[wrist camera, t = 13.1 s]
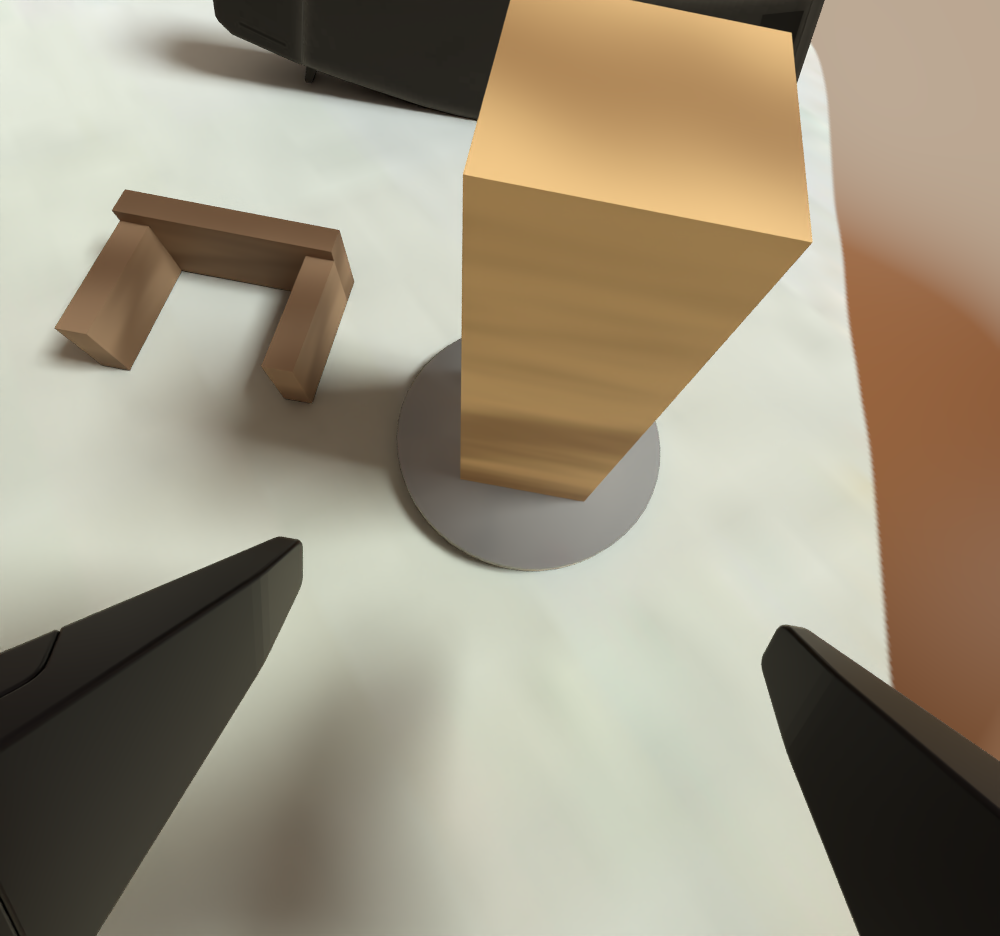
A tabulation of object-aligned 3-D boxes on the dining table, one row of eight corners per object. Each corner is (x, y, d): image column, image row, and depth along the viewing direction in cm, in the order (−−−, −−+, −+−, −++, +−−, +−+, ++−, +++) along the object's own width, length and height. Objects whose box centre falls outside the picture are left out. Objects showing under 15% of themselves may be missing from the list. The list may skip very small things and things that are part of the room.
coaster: (464, 620, 18) (464, 619, 17) (361, 383, 21) (357, 373, 20) (701, 503, 20) (710, 497, 19) (577, 306, 23) (581, 295, 22)
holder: (311, 403, 20) (287, 364, 17) (101, 365, 20) (43, 319, 17) (354, 281, 23) (339, 230, 20) (166, 246, 22) (125, 189, 20)
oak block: (583, 501, 19) (813, 242, 7) (460, 479, 19) (462, 174, 7) (595, 393, 21) (791, 32, 8) (482, 372, 20) (516, -24, 8)
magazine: (932, -68, 21) (143, -773, 12) (949, -27, 20) (88, -774, 10) (668, 224, 36) (235, 20, 27) (668, 257, 35) (216, 56, 25)
